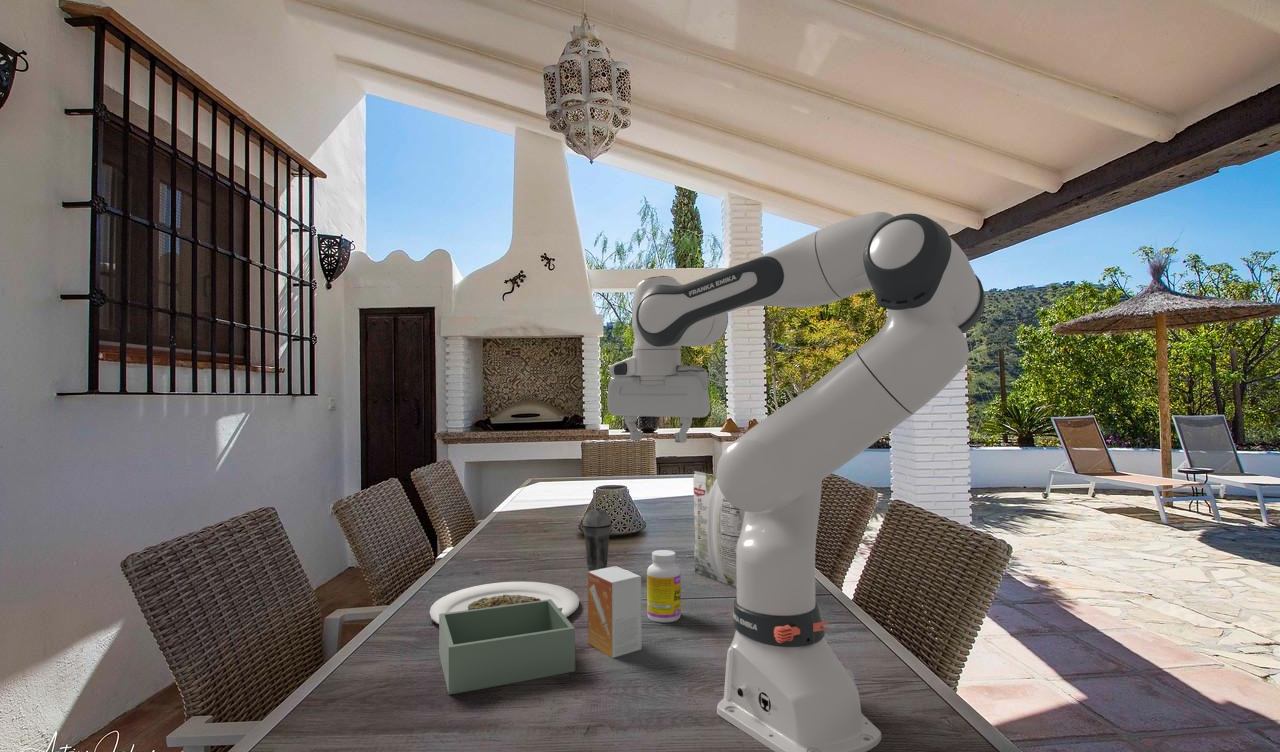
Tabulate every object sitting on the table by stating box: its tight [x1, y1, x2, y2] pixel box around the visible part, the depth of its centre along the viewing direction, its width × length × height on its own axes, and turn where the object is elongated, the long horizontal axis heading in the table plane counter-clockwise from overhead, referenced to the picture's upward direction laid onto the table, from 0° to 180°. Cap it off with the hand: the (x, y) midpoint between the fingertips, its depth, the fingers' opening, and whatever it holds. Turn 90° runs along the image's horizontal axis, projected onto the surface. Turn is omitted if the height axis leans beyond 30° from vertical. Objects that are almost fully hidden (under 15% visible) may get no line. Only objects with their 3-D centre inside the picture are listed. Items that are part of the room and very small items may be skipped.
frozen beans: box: [692, 470, 745, 588], centre depth 152 cm, size 21×6×25 cm, turn 32°
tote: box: [438, 599, 576, 696], centre depth 108 cm, size 16×20×7 cm
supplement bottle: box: [646, 549, 682, 624], centre depth 129 cm, size 7×7×13 cm
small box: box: [587, 565, 643, 659], centre depth 114 cm, size 8×6×13 cm
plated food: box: [429, 581, 580, 625], centre depth 134 cm, size 30×30×3 cm
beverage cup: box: [581, 490, 612, 573], centre depth 161 cm, size 7×7×20 cm
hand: (657, 441), depth 119 cm, fingers open, 8 cm apart
